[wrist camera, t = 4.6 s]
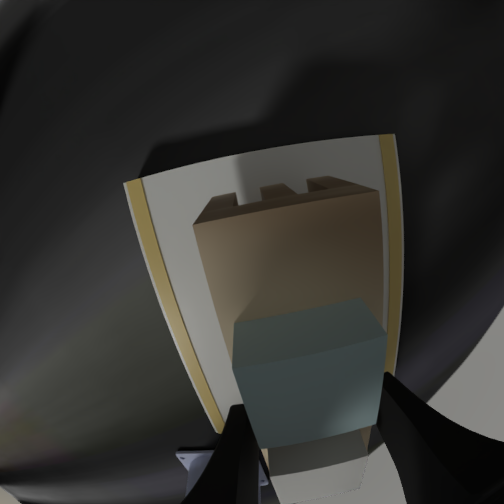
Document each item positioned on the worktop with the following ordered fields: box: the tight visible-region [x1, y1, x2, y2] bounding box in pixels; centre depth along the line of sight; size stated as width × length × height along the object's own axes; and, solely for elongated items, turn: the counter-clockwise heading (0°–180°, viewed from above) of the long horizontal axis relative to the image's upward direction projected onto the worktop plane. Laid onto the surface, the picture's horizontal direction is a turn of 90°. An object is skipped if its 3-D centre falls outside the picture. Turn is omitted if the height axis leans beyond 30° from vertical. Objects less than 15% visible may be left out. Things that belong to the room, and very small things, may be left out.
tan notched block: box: [192, 176, 384, 469], centre depth 12 cm, size 16×5×5 cm, turn 11°
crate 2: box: [267, 429, 369, 504], centre depth 10 cm, size 4×4×2 cm
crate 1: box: [232, 297, 388, 449], centre depth 8 cm, size 4×4×2 cm
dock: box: [123, 134, 404, 434], centre depth 17 cm, size 19×14×2 cm
